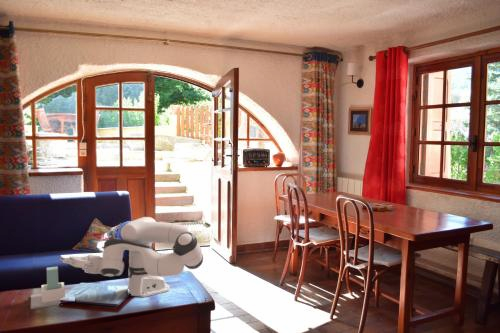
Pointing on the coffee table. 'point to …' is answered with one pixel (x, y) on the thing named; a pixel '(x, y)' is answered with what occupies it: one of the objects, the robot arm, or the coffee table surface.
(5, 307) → the coffee table surface
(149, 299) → the coffee table surface
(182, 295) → the coffee table surface
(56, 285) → the teal block
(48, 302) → the white block stand
